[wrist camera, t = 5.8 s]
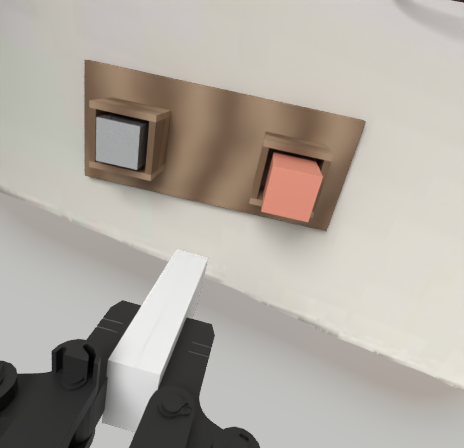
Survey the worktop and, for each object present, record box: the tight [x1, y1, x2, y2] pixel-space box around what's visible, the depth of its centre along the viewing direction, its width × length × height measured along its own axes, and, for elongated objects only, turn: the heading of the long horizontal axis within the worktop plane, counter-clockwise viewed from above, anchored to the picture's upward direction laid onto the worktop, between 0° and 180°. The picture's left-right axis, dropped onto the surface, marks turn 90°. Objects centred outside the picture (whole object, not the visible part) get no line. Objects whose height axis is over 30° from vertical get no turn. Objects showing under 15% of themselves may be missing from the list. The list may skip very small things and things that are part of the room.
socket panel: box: [85, 60, 366, 231], centre depth 33 cm, size 28×12×6 cm, turn 79°
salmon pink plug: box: [261, 152, 323, 222], centre depth 29 cm, size 4×4×5 cm
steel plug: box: [96, 113, 149, 170], centre depth 32 cm, size 4×4×5 cm
